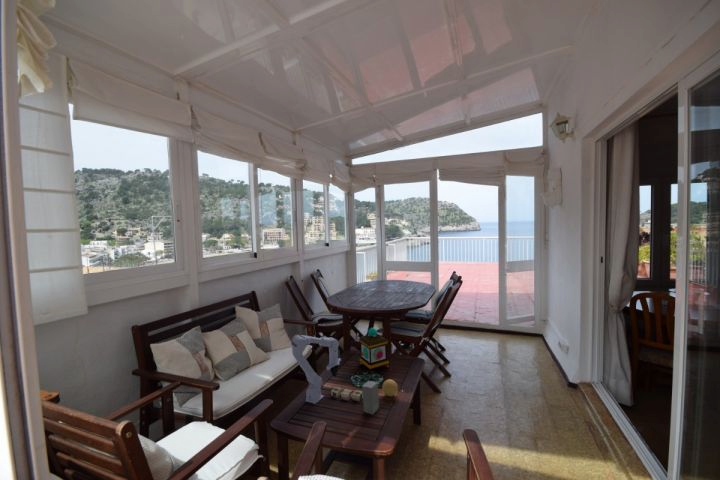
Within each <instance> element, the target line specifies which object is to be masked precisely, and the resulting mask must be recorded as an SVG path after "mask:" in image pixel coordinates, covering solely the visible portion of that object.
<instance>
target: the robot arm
mask: <svg viewBox="0 0 720 480" xmlns="http://www.w3.org/2000/svg"><path fill="white" fill-rule="evenodd" d="M310 344H318V345H319V346H320V347H328V353H329V354H328V356H329V363H328V365H327V366H326V370H327V371H331V374H332V377H337V375H338V370H339V367H340V364H341V363H340V362H342V358H339V346H340V342H339V340H338V339H336V338H334V337H327V336H326V335H323V336H320V337H316V336H315V337H314V336H310V335H304V334H295V335H294V336H293V337H292V338H291V342H290V345H291V350H292V351H291V352H292V356H293V357H294V359H295V360H296V362H297V364H298V365H299V366H300V368H301V369H302V370H303V372H304V373H305V376H306V381H307V382H308V388H307V389H306V391H305V395H306V396H305V402H307V403H311V404H314V405H316V404H317V403H318V402H319V401H320V400H322V399H323V398H324V397H325V395H322V391H321V389H322V388H321V386H322V383H323V378H322V377H321V376H319V375H318V373H316V372H315V371H314V369H313V367H312V366H311V365H310V363H309V361H308V360H307V359H306V357H305V356H304V354H303V353H304V352H305V350H306V348H307V346H309V345H310Z"/></svg>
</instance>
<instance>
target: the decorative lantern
mask: <svg viewBox="0 0 720 480" xmlns="http://www.w3.org/2000/svg"><path fill="white" fill-rule="evenodd" d="M358 341H359V346H360V347H359V348H360V358H359V359H358V360H359V361H358V364H359V365H360V366H362V365H363V366H364V367H365V368H367V369H368V372H369V373H370V372H371V373H372V370H373V369H377V368H381V367H383V366H384V367H385V366H386V367H387V368H390V362H389V360H388V346H387V345H388V342H389V341H388V339H386V338H385V337H383V336H381V334H379V333H378V331H377V329H376V328H375V327H371V328H369V329H368V332H367V333H366V334H365V335H362V336H360V337H359V338H358Z"/></svg>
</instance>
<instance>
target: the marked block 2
mask: <svg viewBox="0 0 720 480" xmlns="http://www.w3.org/2000/svg"><path fill="white" fill-rule="evenodd" d="M351 400H353V401H356V402H361V400H363V391H361V390H356V389H355V391H353V392H352V397H351Z"/></svg>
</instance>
